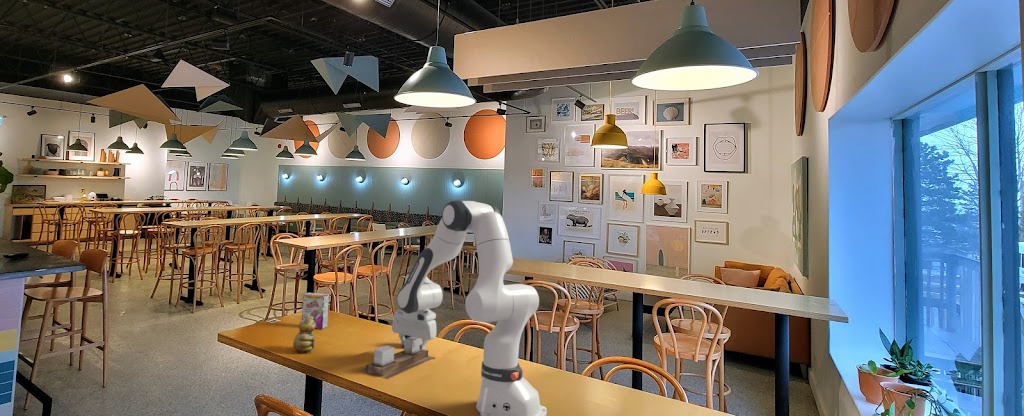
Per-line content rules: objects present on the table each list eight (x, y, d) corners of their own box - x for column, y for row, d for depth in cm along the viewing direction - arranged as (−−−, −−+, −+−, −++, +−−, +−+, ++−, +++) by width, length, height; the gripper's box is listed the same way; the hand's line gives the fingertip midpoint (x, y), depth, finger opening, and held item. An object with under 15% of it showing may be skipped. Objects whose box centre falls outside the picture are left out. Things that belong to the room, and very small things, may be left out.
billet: (421, 356, 184) (422, 337, 184) (411, 361, 179) (412, 340, 179) (413, 354, 186) (414, 335, 186) (403, 359, 181) (404, 338, 181)
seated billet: (393, 368, 170) (394, 347, 170) (381, 373, 165) (382, 351, 165) (385, 366, 172) (386, 345, 172) (373, 371, 167) (374, 349, 166)
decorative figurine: (315, 353, 186) (316, 317, 186) (292, 355, 183) (294, 318, 183) (314, 346, 195) (315, 311, 195) (292, 348, 192) (294, 312, 191)
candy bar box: (300, 328, 221) (302, 294, 221) (306, 325, 226) (308, 292, 226) (322, 329, 220) (323, 295, 219) (328, 327, 225) (329, 293, 224)
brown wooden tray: (434, 361, 184) (435, 351, 184) (387, 383, 160) (387, 371, 160) (407, 354, 191) (408, 344, 190) (358, 374, 167) (358, 363, 167)
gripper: (389, 310, 184) (387, 344, 184) (429, 318, 175) (427, 354, 175) (399, 307, 190) (398, 340, 190) (439, 314, 180) (438, 349, 180)
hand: (412, 347), depth 182 cm, fingers open, 8 cm apart
